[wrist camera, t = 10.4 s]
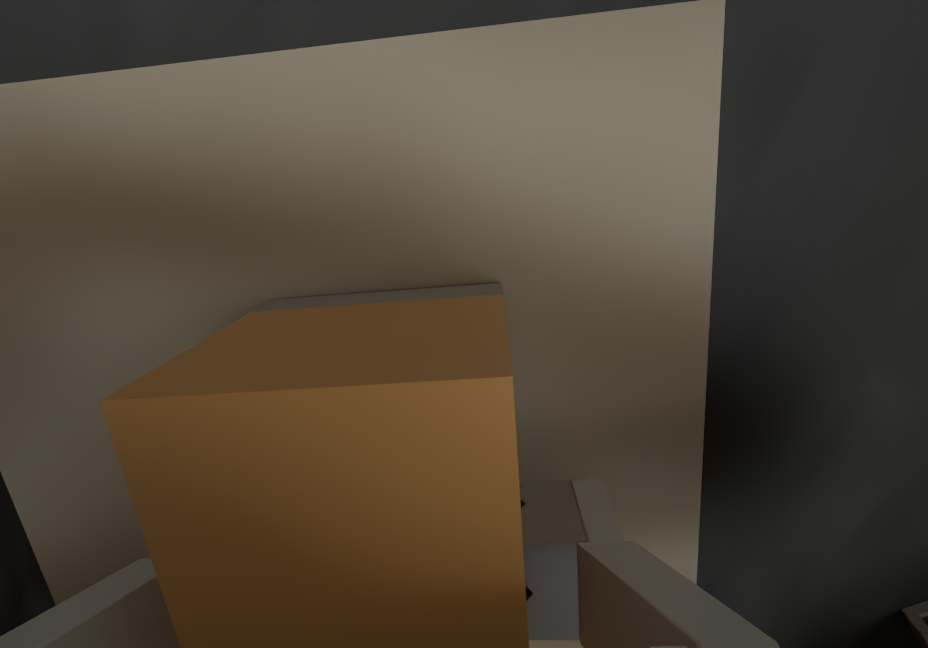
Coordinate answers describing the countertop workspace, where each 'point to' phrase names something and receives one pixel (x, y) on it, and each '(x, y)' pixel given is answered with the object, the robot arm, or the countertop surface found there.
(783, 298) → the countertop surface
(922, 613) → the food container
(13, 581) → the countertop surface
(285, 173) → the birch board
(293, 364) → the block
